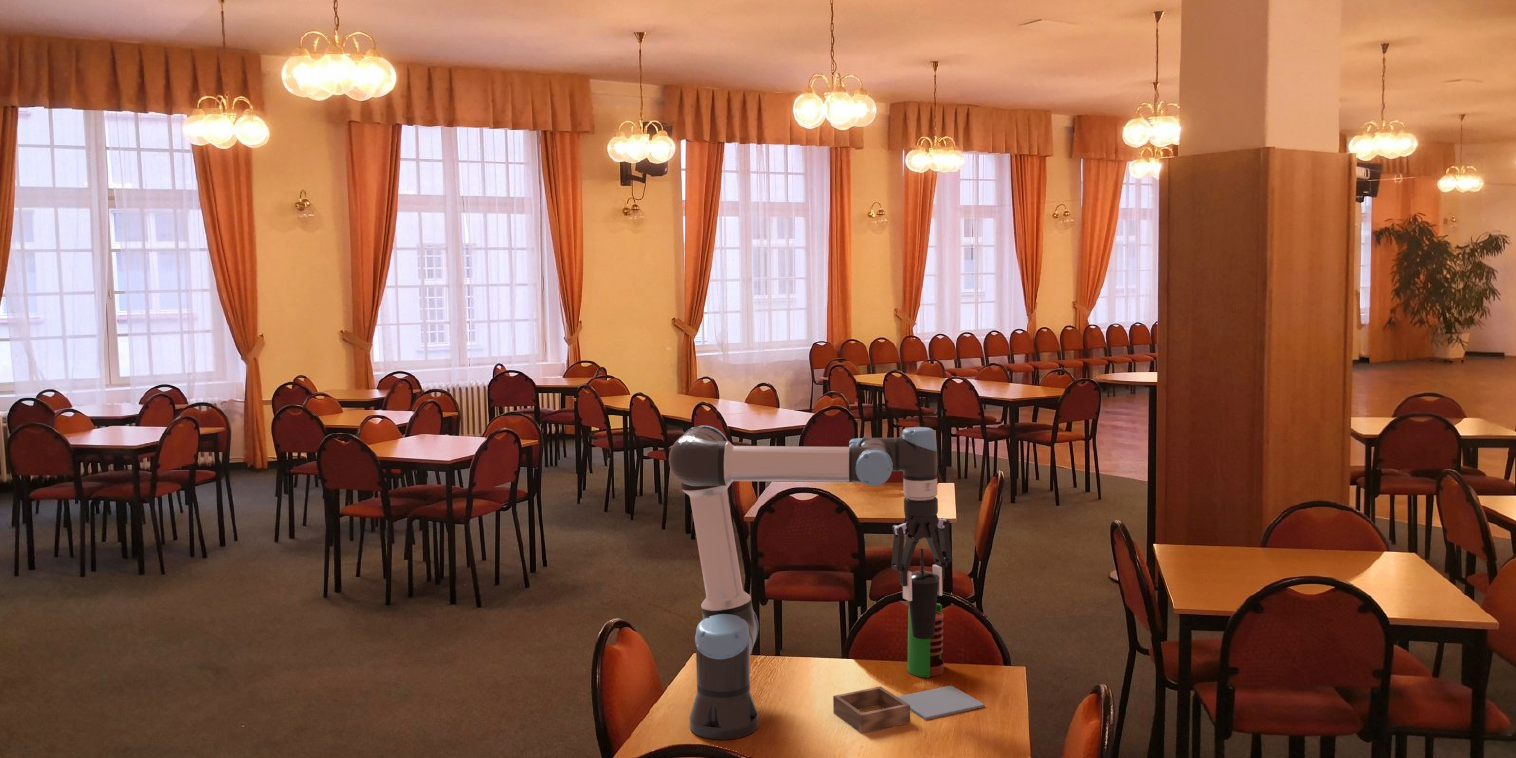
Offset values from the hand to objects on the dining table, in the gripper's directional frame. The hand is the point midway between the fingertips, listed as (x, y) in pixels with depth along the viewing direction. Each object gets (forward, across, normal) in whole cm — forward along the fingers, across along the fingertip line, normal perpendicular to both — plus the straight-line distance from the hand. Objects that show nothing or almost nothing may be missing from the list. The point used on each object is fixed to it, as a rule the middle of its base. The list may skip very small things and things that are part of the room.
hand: (922, 596), depth 252 cm
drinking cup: (+9, 0, 0) cm, 9 cm away
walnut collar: (+26, -14, 0) cm, 29 cm away
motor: (+26, +13, +20) cm, 35 cm away
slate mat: (+26, +4, +1) cm, 26 cm away
